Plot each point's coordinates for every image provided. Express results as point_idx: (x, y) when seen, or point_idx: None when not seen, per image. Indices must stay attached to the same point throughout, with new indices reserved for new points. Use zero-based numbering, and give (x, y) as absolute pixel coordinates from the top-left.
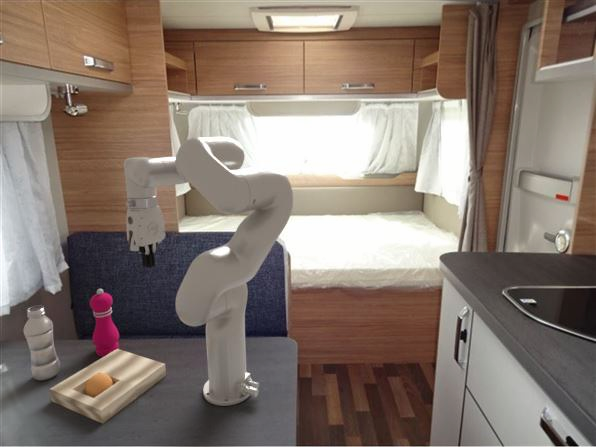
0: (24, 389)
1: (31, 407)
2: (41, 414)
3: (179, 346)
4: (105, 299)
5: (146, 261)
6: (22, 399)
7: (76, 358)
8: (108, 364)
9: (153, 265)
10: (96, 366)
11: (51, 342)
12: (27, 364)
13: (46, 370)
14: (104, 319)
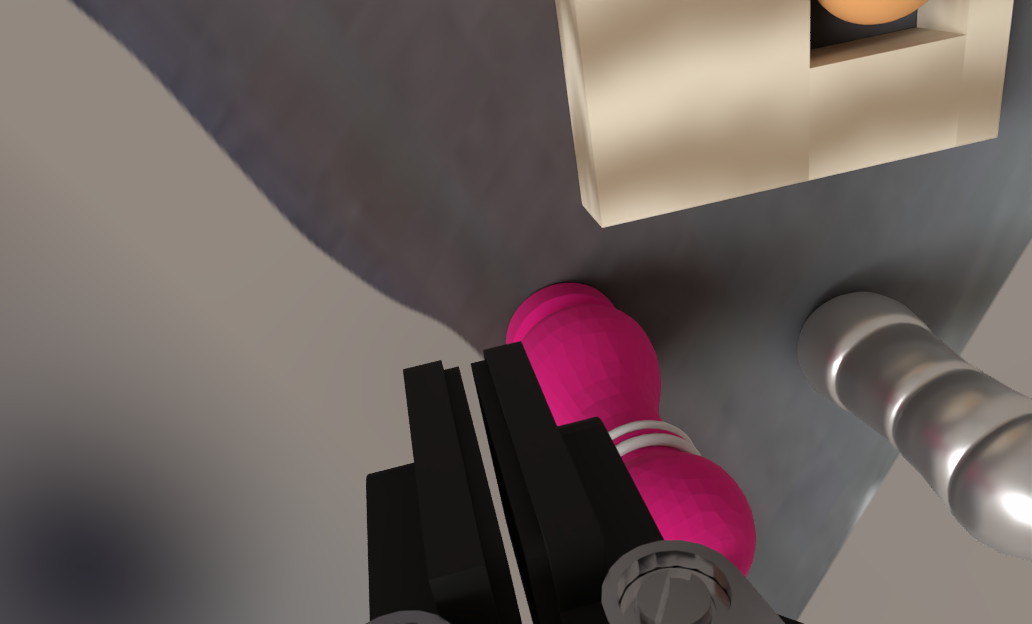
0: (931, 305)
1: (1002, 151)
2: (1022, 63)
3: (251, 23)
4: (693, 503)
5: (619, 454)
6: (978, 239)
7: (687, 378)
8: (734, 105)
9: (446, 369)
10: (777, 142)
11: (938, 390)
12: (814, 478)
13: (900, 307)
14: (647, 415)
